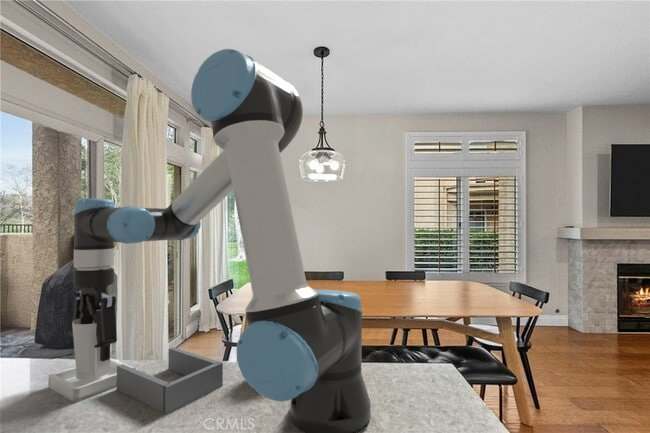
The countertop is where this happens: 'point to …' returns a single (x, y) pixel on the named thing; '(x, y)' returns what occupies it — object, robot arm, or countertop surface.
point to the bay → (171, 396)
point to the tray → (83, 383)
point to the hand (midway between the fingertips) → (93, 370)
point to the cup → (85, 349)
